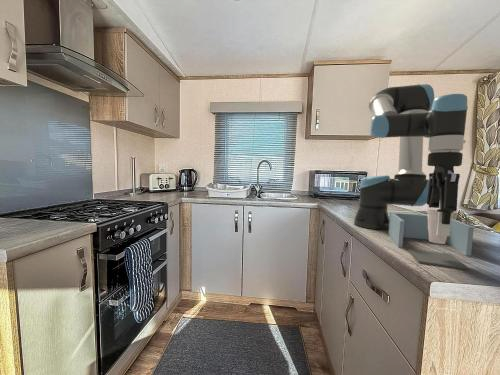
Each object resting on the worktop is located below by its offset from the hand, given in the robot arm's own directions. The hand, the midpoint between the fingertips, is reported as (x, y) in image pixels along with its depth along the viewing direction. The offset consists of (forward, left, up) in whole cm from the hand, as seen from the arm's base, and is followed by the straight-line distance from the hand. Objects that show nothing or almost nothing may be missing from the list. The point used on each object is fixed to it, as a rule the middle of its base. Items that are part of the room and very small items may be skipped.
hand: (437, 232), depth 67 cm
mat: (0, 0, -8) cm, 8 cm away
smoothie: (0, 0, -3) cm, 3 cm away
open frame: (-16, +2, -8) cm, 18 cm away
